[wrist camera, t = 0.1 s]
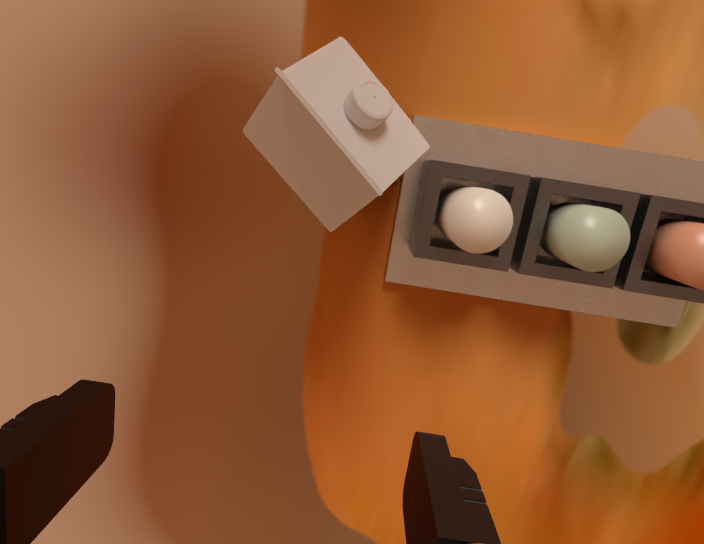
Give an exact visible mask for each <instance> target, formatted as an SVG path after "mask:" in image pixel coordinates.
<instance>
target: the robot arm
mask: <svg viewBox="0 0 704 544" xmlns="http://www.w3.org/2000/svg"><path fill="white" fill-rule="evenodd" d="M114 411H115V388H114V386H113V385H112V384H109V383H103V382H96V381H89V380H80V381H78V382H77V383H75V384H74V385H73V386H71V387H70V388H69V389H67V390H66V391H64V392H63V393H62V394H60V395H59V396H57V395H54V396H52V397H49V398H47V399H44V400H42V401H39V402H37V403H34V404H32V405H31V406H29V407H28V408H26V409H25V410H24V411H22V412H21V413H19V414H18V415H16V417H15V419H13V418H12V419H11V420H9V421H8V422H7V423H5V424H4V425H2V426H1V429H0V544H30V543H31V542H32V541H33V540H34V539H35V538H36V537H37V535H39V533H40V532H41V531H42V530H43V529H44V528H45V527H46V526H47V525H48V523H49V522H50V521H51V520H52V519H53V518H54V517H55V516H56V515H57V513H58V512H59V511H60V510H61V509H62V508H63V507H64V506H65V504H66V503H67V502H68V501H69V500H70V499H71V498H72V497H73V496H74V494H75V493H76V492H77V491H78V490H79V489H80V488H81V487H82V485H83V484H84V483H85V482H86V481H87V480H88V479H89V478H90V477H91V476H92V474H93V473H94V472H95V471H96V470H97V469H98V468H99V467H100V465H101V464H102V463H103V462H104V461H105V459H106V458H107V456H108V454H109V452H110V449H111V446H112V443H113V436H114ZM403 515H404V524H405V534H406V544H501V542H500V539H499V536H498V534H497V531H496V528H495V525H494V522H493V520H492V517H491V514H490V511H489V508H488V506H487V505H486V500H485V497H484V494H483V492H481V486H480V483H479V480H478V478H477V475H476V473H475V472H474V470H473V469H472V468H471V467H470V466H469V465H468V464H467V462H466V461H465V460H464V459H461V458H455V457H451V456H450V452H449V449H448V445H447V442H446V438H445V436H442V435H436V434H429V433H423V432H416V433H415V435H414V438H413V443H412V448H411V453H410V458H409V463H408V468H407V473H406V477H405V483H404V490H403Z"/></svg>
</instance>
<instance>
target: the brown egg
mask: <svg viewBox="0 0 704 544" xmlns="http://www.w3.org/2000/svg"><path fill="white" fill-rule="evenodd" d="M644 267H645V268H646V269H647V270H649V271H651V272H653V273H656V274H659V275H662V276H664V277H667V278H670V279H673V280H675V281H678V282H681V283H683V284H686V285H689V286H692V287H694V288H697V289H701V290H704V224H703V223H697V222H691V221H685V220H679V219H663V220H660V221H658V224H657V227H656V230H655V233H654V237H653V240H652V243H651V246H650V250H649V253H648V256H647V259H646V263H645V266H644Z"/></svg>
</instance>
